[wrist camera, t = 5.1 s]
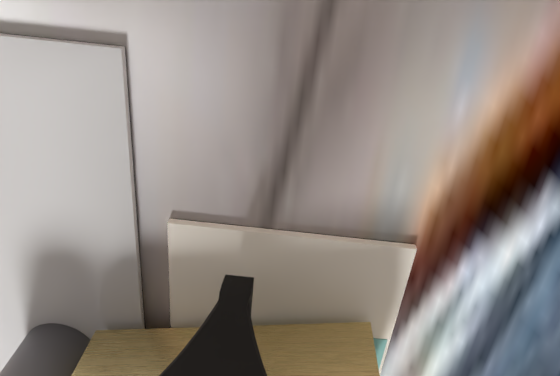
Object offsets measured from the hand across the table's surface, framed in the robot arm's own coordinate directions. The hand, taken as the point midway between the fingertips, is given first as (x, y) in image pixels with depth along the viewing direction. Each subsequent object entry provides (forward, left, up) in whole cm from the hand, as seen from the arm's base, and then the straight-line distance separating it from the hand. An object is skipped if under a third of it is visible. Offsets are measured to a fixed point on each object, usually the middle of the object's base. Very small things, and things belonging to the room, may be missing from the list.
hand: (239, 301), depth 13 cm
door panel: (-1, +2, -1) cm, 3 cm away
